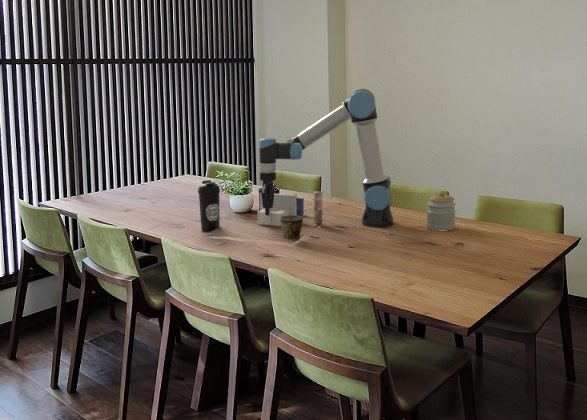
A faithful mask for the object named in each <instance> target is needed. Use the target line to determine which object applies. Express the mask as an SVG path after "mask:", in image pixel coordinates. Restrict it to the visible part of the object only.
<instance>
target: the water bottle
mask: <svg viewBox="0 0 587 420" xmlns="http://www.w3.org/2000/svg"><path fill="white" fill-rule="evenodd" d="M201 183H202V184H201V185H199V187H198V188H197V193H198V201H199V214H200V226H201V232H203V233H211V232H213V231H215V230H217V229H220V228H221V226H220V224H221V223H220V222H221V221H220V220H221V219H220V218H221V217H220V215H221V214H220V193H221V187H220V186H219V185H218V184H216V182H215V181H212V180H207V179H206V180H202V181H201Z"/></svg>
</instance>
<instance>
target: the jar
mask: <svg viewBox="0 0 587 420" xmlns="http://www.w3.org/2000/svg"><path fill="white" fill-rule="evenodd" d="M454 200H455V198H454V197H452V196H451V195H449V194H446V193H445V192H444V191H443V190H440V191H439V192H438V194H432V195H431V196H430V197H429V198H428V202H427V203H426V205H428V206H427V209H426V223H425V224H426V229H428V228H429V229H433V230H450V229H453V228H454V229H455V227H456V223H455V222H456V221H455V218H456V209H455V207H456V206H457V203H456V202H454ZM429 229H428V230H429ZM454 229H453V230H454ZM433 230H432V231H433Z"/></svg>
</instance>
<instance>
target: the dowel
mask: <svg viewBox="0 0 587 420" xmlns="http://www.w3.org/2000/svg"><path fill="white" fill-rule="evenodd" d="M313 223H314V224H316V225H315V227H322V226H323V192H322V191H313Z"/></svg>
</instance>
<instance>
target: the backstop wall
mask: <svg viewBox="0 0 587 420" xmlns="http://www.w3.org/2000/svg"><path fill="white" fill-rule="evenodd" d="M296 197H297V195H293V194H288V193H287V194H286V193H274V202H273V208H281V209H289V215H296ZM259 206H260V207H259V209H260V210H262V209H264V208H263V204H262V195H261V192H260V193H259ZM260 210H259V211H260Z"/></svg>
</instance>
